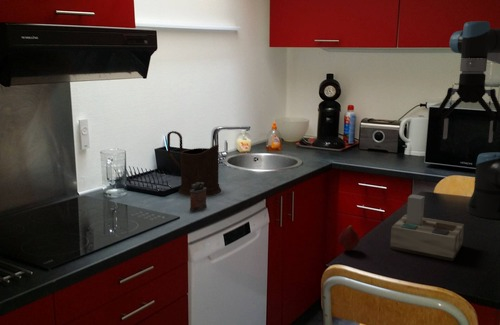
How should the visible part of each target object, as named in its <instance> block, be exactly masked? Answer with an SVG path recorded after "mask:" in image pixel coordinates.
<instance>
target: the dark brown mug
mask: <svg viewBox="0 0 500 325" xmlns="http://www.w3.org/2000/svg"><path fill="white" fill-rule="evenodd" d="M171 134H175V135H177V136H178V138H179V149H180V163H179V162H178V161H177V160H176V159H175V157H174V155H173V154H172V153H171ZM166 141H167V144H166V145H167V155H168V157H169V158H170V159H171V160H172V161H173V163H174V164H175V165H176V167H178V169H179V170H180V176H181V178H180V179H181V180H180V182H181V183H180V186H179V189H178V192H177V193H178V194H180V195H183V196H187V197H190V190H192V189H194V188H192V184H196V183H197V182H199V183H201V182H203V183H204V187H206V188H207V190H206V197H212V196H216V195H219V194H221V193H222V191H223V190H222V188H221V187H220V183H219V144H216V145H213V146H211V147H209V148H208V147H201V148H200V147H196V148H191V149H186V150H184V148H183V136H182V134H181V133H180V132H178V131H175V130H172V131H170V132H168V133H167V136H166Z"/></svg>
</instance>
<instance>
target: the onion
mask: <svg viewBox="0 0 500 325" xmlns="http://www.w3.org/2000/svg"><path fill="white" fill-rule="evenodd" d="M338 237H339V238H338V241H339V244H340V245H341V247H342V248H344V249H345V250H346V251H347V252H351V251H352V250H354V249H355V248H356V247H357V246H358V245H359V243H360V237H359V234H358V233H357V231H356V230H355V229H354V228H353V226H352V225H348V226H347V227H346V228H344V229H343V230H342V231H341V233H340V234H339V236H338Z"/></svg>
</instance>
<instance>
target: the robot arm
mask: <svg viewBox="0 0 500 325" xmlns="http://www.w3.org/2000/svg"><path fill="white" fill-rule="evenodd" d="M449 48H450V50H451V51H452V52H453V53H455V54H461V56H460V63H459V64H460V65H459V71H460V72H461V73H460V74H459V80H458V87H457V88H453V87H449V88H447V93H446V94H445V97H444V99H443V100H442V102H441V103H440V106H439V107H438V108H437V109H436V110H437V111H436V112H435V113H434V115H435V116H436V117H439V118H440V129H443V135H442V139H443V140H447V138H448V130H449V118H448V115H450V114H451V113H452V112H453V111H454V110H455V109H456V108H457V107H458V106H459V105H460V104H461V103H462V102H463V103H465V104H467V103H472V104H476V103H479V105H480V106H481V107H482V108H483V110H484V111H485V112H486V113H487V114H488V116H489V118H491V119H492V120H491V121H490V122H489V133H488V143H492V142H493V138H494V137H493V136H494V132H497V131H498V124H499V121H500V102H499V100H498V97H497V95H496V94H497V93H496V89H495V88H491V89H486V76H487V75H486V73H485V72H486V71H487V67H488V66H487V64H488V61H490V62H492V63H496V64H499V65H500V28H491V24H490V22H489V21H485V20H478V21H467V22H465V23H464V25H463V30H458V31H457V30H456V31H454V32H453V33H452V35H451V36H450V39H449ZM455 94H457V95H458V98H457V99H456V100H455V101H454V102H453V103H452V104H451V105H450V106H449V107H448V108H447V109H446V111H444V109H445V108H446V106H447V105H448V103H449V101H450V100H451V98H452V96H453V95H455ZM486 94H487V96H488V97H490V100H491V102H492V104H493V106H494V108H495V111H496V113H497V114H496V113H495V112H494V111H493V109H492V107H490V106H489V105H488V103H487V102H486V101H485V98H483V97H484V96H485V95H486ZM443 111H444V112H443ZM474 175H475V176H474V185H473V192H472V194H471V197H470V199H469V201H468V203H467V205H466V212H467V213H468V214H470V215H473V216H476V217H477V218H478V217H479V218H482V219H483V218H484V219H492V220H500V151H497V152H494V151H493V152H481V153H479V154H478V156H477V158H476V163H475V174H474Z"/></svg>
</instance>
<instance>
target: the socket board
mask: <svg viewBox="0 0 500 325" xmlns="http://www.w3.org/2000/svg"><path fill="white" fill-rule="evenodd" d="M406 220H407V214H404V215H402V217H401V218H399V219H398V220H397V221H396V222H395V223H394V224H393V225H392V226H391V230H390V245H389V246H390V247H389V249H390V250H394V251H397V252H398V251H399V252H403V253H408V254H414V255H419V256H425V257H429V258H434V259H439V260H442V261H443V260H444V261H450V262H453V261H454V260H455V258H456V256H457V255H458V253H459V252H460V250H461V248H462V246H463V240H464V230H465V224H464V223H460V222H453V221H446V220H441V219H437V218H434V219H433V218H428V217H423V224H422V226H420V225H414V224H408V223H406Z"/></svg>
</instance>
